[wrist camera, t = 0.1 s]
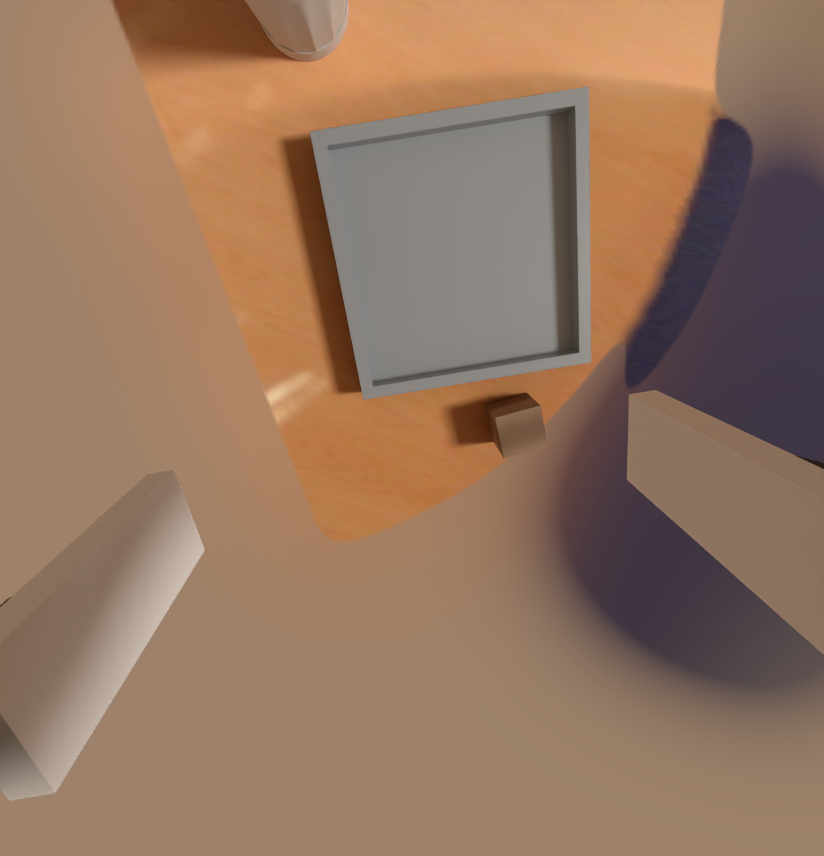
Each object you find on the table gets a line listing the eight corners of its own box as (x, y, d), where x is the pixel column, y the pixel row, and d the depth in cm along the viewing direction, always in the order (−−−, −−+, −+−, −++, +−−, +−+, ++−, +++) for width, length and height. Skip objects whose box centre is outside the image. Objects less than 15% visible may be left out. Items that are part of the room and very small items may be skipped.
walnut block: (485, 404, 42) (495, 417, 38) (526, 392, 42) (540, 405, 38) (493, 441, 43) (504, 458, 40) (533, 430, 43) (547, 446, 40)
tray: (314, 140, 34) (309, 131, 31) (574, 98, 34) (589, 86, 31) (364, 391, 41) (363, 399, 38) (579, 356, 41) (590, 362, 38)
